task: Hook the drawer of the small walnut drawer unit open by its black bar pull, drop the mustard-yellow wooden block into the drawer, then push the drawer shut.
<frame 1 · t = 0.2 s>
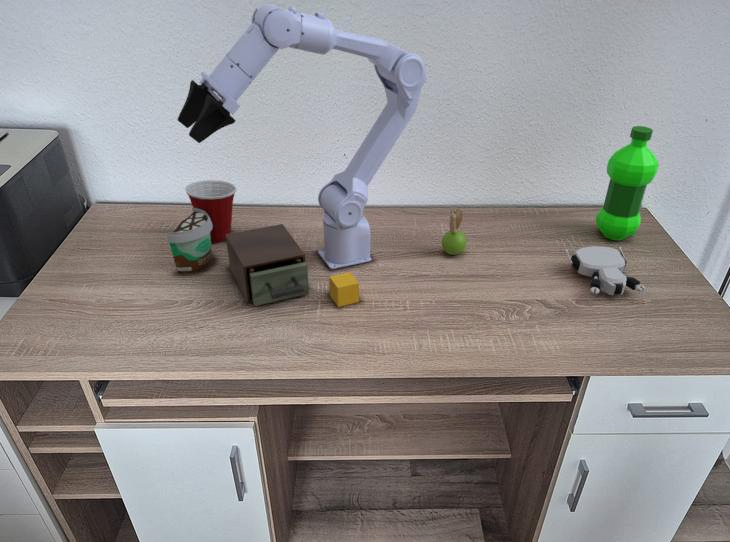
hand: (187, 131, 105), 31 cm above the table, tool tilted 45°, fingers open, 7 cm apart
block: (344, 298, 121), on the table
cabinet: (267, 278, 126), on the table
plastic bottle: (614, 235, 146), on the table
drawer: (274, 274, 120), point 4 cm above the table, slide at 1.5 cm
plastic cup: (218, 237, 140), on the table
food container: (201, 265, 130), on the table
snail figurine: (452, 255, 136), on the table
robot toy: (601, 282, 129), on the table
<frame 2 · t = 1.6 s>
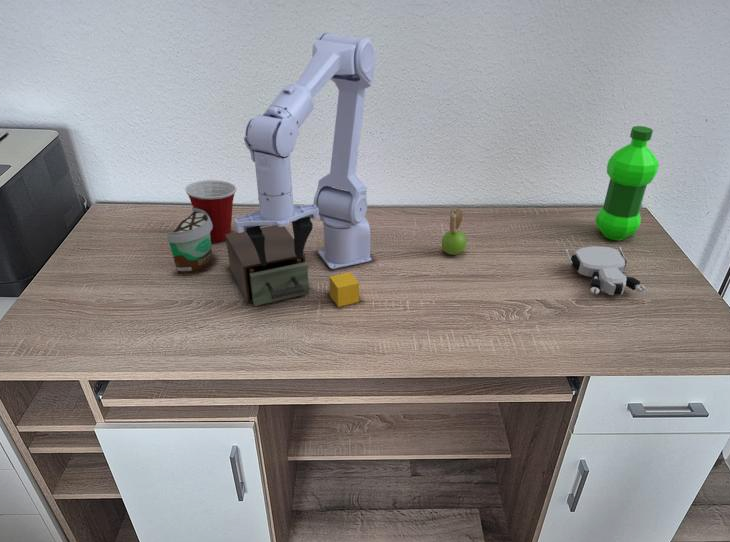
hand: (281, 259, 112), 10 cm above the table, tool pointing down, fingers open, 6 cm apart
nothing on the table moved.
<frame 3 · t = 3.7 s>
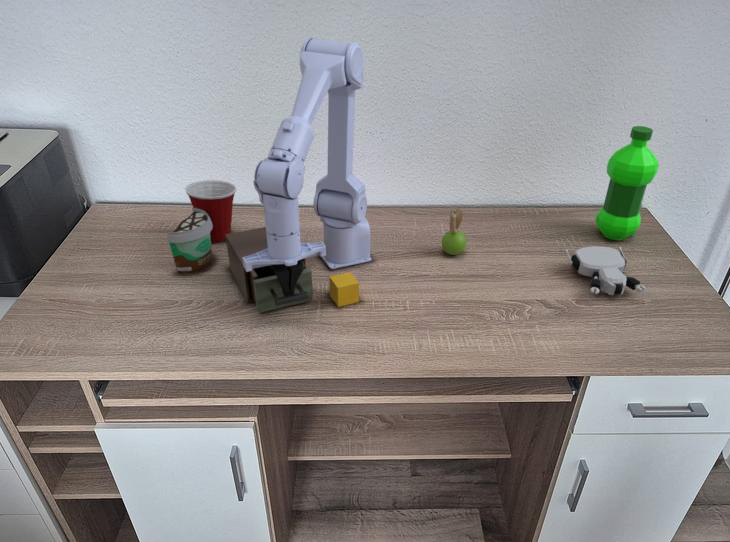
hand: (288, 295, 113), 4 cm above the table, tool pointing down, fingers closed, pressing on drawer
drawer: (278, 280, 118), point 4 cm above the table, slide at 4.0 cm, touching gripper
everything else where it was.
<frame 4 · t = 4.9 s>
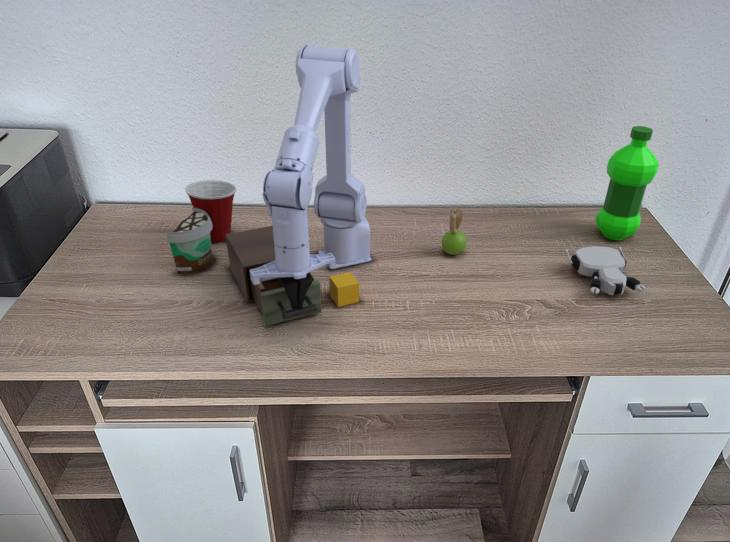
hand: (296, 308, 110), 4 cm above the table, tool pointing down, fingers closed, pressing on drawer
drawer: (285, 292, 115), point 4 cm above the table, slide at 8.5 cm, touching gripper
everything else where it was.
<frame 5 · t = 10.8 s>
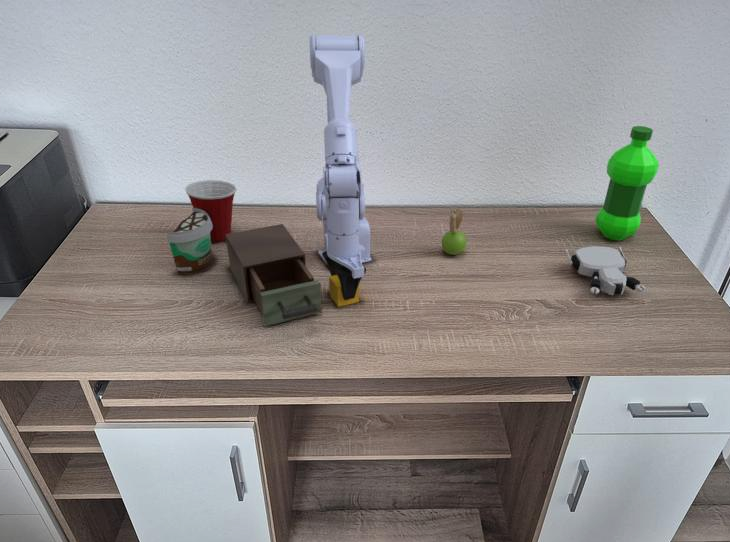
hand: (344, 291, 120), 2 cm above the table, tool pointing down, fingers closed on block, 4 cm apart
block: (344, 298, 121), on the table, touching gripper
drawer: (285, 292, 115), point 4 cm above the table, slide at 8.5 cm
everything else where it was.
when the fingers open (6 cm above the table, at t = 15.0 s): block drops 3 cm, resting on drawer.
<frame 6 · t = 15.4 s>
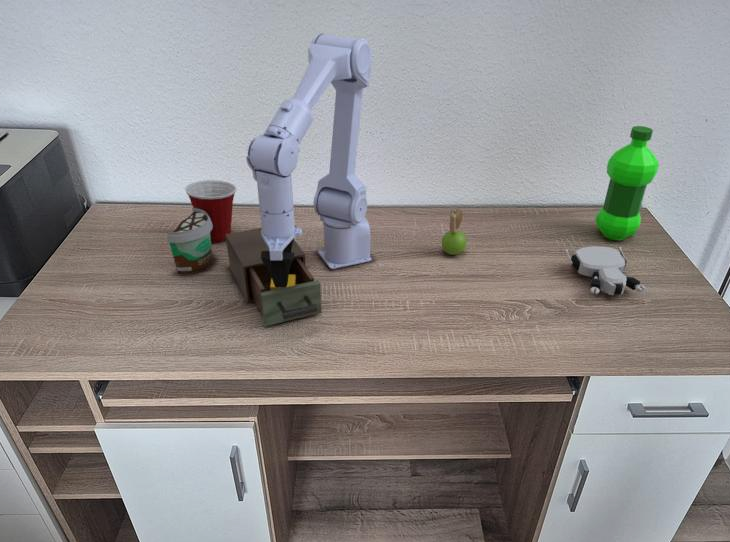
hand: (282, 275, 114), 7 cm above the table, tool pointing down, fingers open, 7 cm apart
block: (284, 300, 117), point 2 cm above the table, touching drawer
drawer: (285, 292, 115), point 4 cm above the table, slide at 8.5 cm, touching block, gripper
everything else where it was.
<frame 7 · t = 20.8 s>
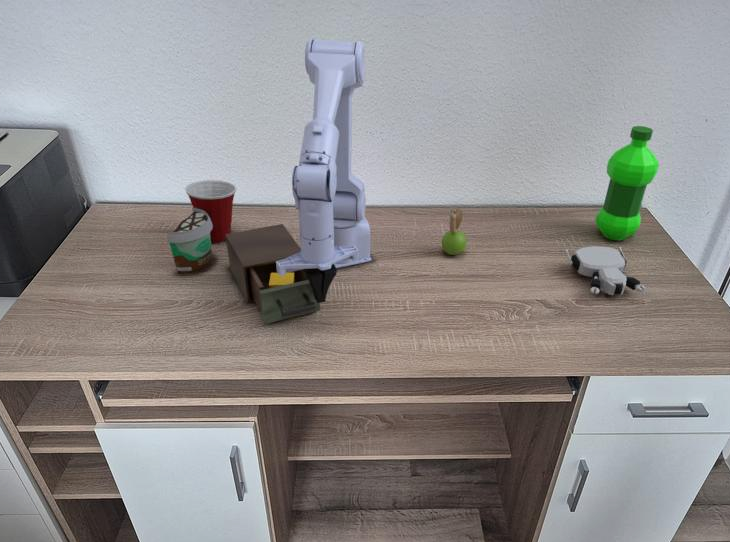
hand: (319, 299, 112), 4 cm above the table, tool pointing down, fingers closed, pressing on drawer
drawer: (284, 290, 115), point 4 cm above the table, slide at 7.8 cm, touching block, gripper
everything else where it was.
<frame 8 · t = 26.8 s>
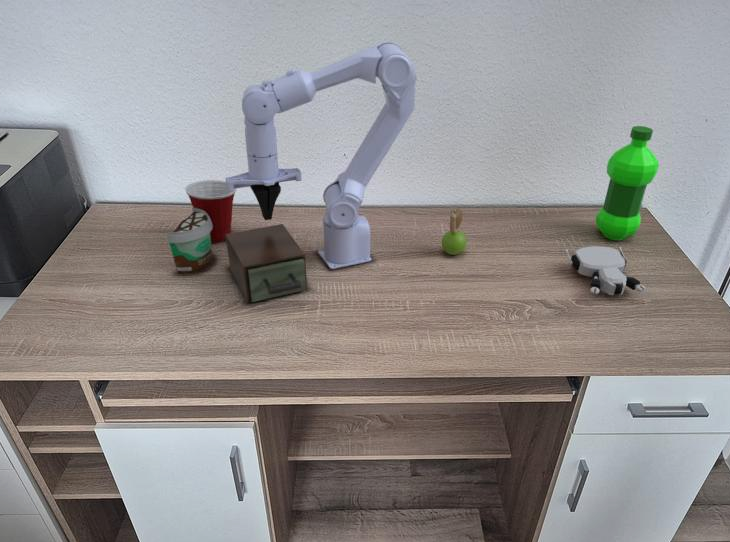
hand: (267, 217, 125), 10 cm above the table, tool pointing down, fingers closed
block: (271, 278, 123), point 2 cm above the table, touching drawer
drawer: (271, 271, 121), point 4 cm above the table, slide at 0.0 cm, touching block
everything else where it was.
at the end: block inside the target area in the cabinet (2.9 cm from its centre), point 1.7 cm above the cabinet's base; drawer slide at 0.0 cm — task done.
